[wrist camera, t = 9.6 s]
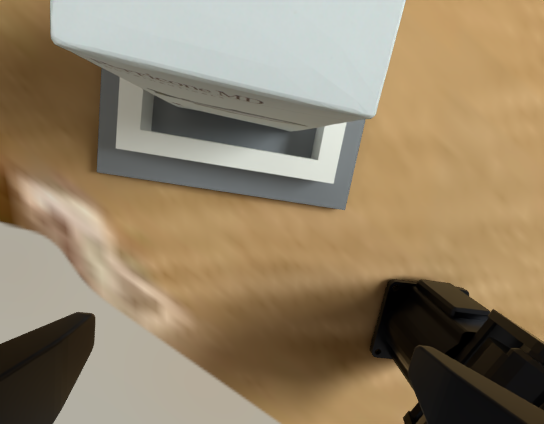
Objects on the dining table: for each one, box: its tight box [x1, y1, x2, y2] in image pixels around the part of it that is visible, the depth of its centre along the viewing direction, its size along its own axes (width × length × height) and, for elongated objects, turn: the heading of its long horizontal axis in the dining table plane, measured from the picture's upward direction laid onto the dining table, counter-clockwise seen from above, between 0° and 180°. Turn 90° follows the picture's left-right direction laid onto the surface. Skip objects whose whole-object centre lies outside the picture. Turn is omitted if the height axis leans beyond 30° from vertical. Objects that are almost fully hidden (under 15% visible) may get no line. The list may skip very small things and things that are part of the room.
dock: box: [97, 68, 365, 210], centre depth 17 cm, size 16×16×3 cm
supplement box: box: [50, 0, 406, 132], centre depth 12 cm, size 7×7×13 cm
